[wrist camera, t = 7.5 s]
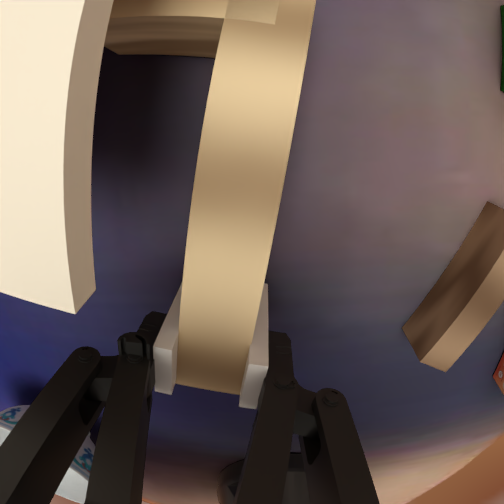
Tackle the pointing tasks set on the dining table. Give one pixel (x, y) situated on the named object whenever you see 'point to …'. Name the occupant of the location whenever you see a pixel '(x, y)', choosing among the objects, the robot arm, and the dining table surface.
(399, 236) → the dining table surface
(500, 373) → the cracker box
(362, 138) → the dining table surface
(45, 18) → the shelf
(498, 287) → the brown wooden bar
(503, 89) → the milk carton
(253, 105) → the crook
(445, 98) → the dining table surface
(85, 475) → the chinaware
